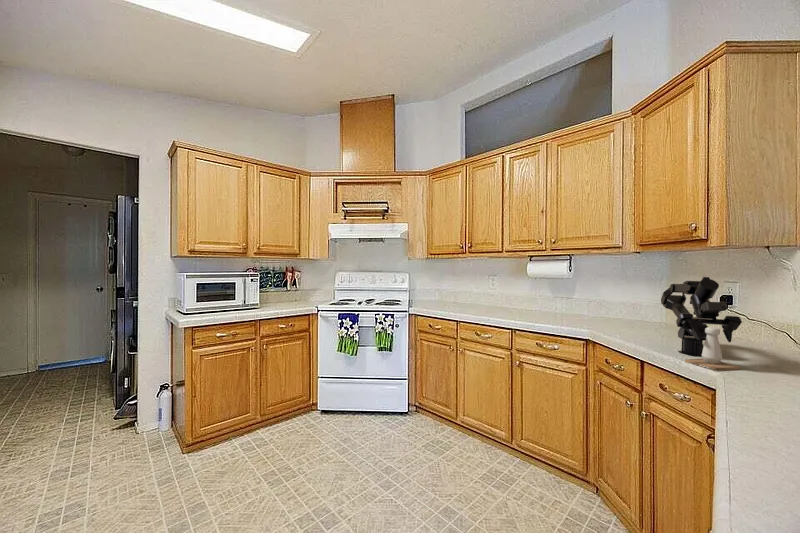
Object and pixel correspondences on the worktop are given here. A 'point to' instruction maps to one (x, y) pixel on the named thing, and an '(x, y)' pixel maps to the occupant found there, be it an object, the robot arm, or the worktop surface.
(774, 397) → the worktop surface
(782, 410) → the worktop surface
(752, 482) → the worktop surface
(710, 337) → the salt shaker
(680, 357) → the worktop surface
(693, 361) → the board
